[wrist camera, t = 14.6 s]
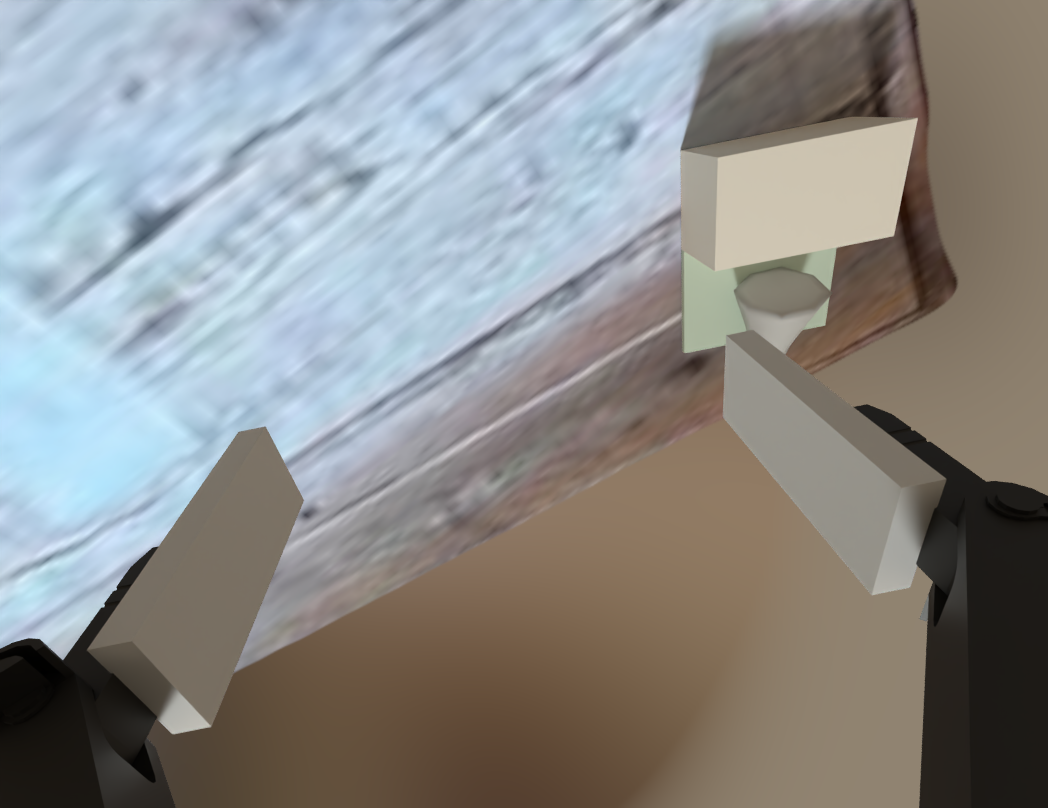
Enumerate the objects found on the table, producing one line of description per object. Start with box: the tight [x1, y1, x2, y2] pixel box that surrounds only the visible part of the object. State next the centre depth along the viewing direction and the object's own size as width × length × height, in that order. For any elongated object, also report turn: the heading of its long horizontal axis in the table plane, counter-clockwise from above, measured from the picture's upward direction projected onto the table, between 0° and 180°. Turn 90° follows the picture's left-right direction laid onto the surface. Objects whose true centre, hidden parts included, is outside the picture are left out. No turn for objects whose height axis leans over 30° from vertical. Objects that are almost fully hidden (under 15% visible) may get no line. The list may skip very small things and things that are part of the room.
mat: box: [681, 247, 837, 353], centre depth 47 cm, size 10×14×1 cm
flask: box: [733, 267, 832, 355], centre depth 47 cm, size 7×7×10 cm
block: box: [681, 117, 918, 271], centre depth 40 cm, size 8×14×7 cm, turn 100°
